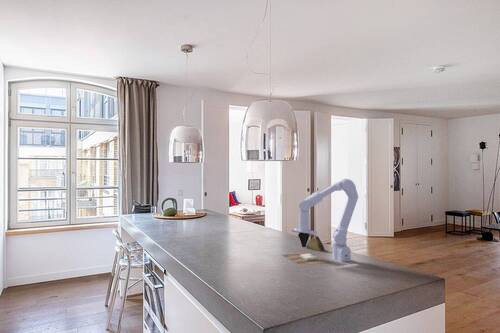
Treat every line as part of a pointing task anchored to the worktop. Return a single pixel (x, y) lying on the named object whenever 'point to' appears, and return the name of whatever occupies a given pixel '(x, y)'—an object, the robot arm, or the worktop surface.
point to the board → (297, 259)
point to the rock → (315, 244)
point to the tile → (308, 257)
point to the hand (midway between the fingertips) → (304, 246)
